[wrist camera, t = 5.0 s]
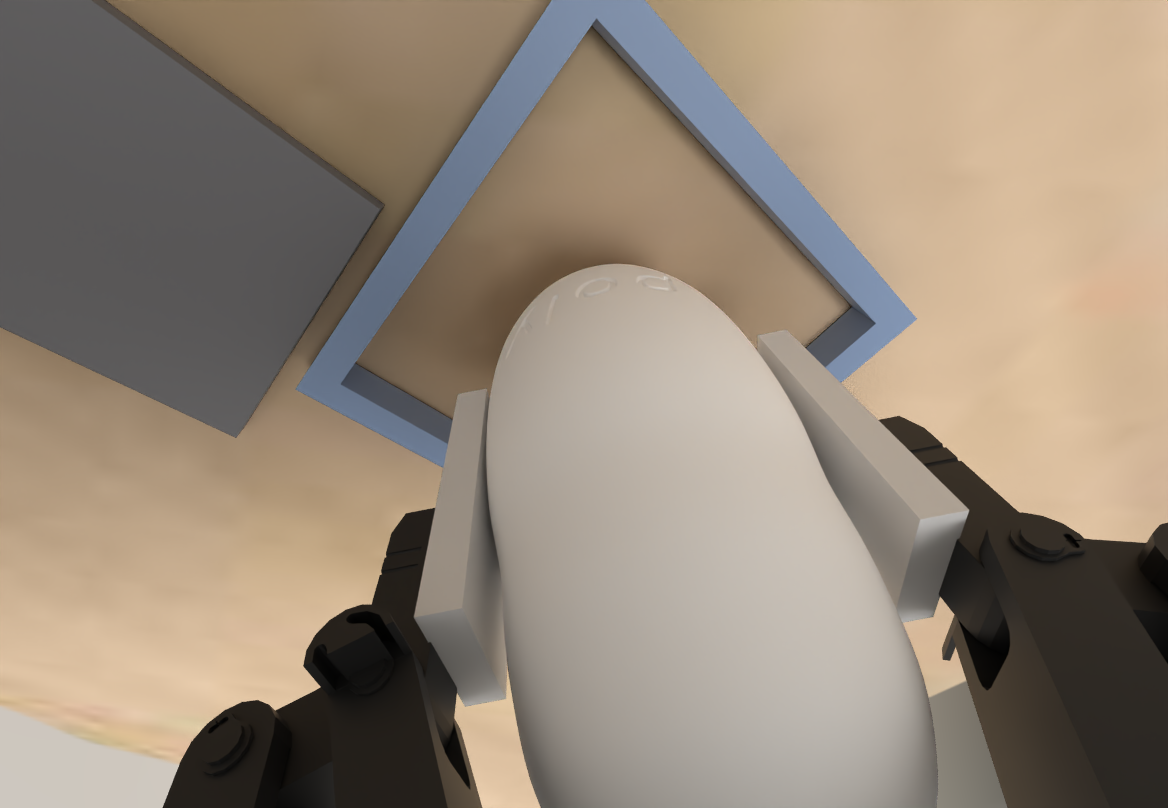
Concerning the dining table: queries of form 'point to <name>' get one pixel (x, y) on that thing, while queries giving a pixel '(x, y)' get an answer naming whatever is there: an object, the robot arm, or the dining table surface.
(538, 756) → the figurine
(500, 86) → the cradle
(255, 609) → the dining table surface
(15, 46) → the mat
